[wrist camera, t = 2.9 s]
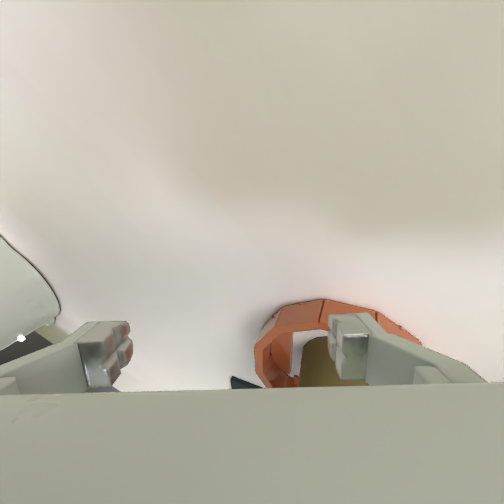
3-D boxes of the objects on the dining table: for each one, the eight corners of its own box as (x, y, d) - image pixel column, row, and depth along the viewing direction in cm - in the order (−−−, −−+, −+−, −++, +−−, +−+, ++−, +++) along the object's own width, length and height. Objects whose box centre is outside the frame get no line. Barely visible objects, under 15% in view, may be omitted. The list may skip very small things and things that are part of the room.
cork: (366, 337, 19) (358, 532, 11) (381, 389, 21) (384, 586, 13) (293, 335, 22) (242, 486, 14) (313, 381, 25) (278, 535, 16)
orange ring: (264, 380, 28) (256, 400, 26) (262, 284, 21) (251, 302, 19) (403, 432, 23) (405, 462, 21) (462, 330, 16) (473, 361, 14)
